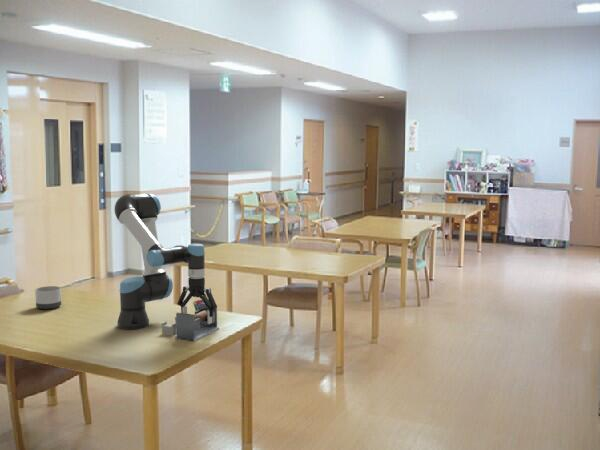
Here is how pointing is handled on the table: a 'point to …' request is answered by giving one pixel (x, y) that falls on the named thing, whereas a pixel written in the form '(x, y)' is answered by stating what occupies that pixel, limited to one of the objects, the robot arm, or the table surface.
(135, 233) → the robot arm
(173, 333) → the rest blocks
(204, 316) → the brown cylinder
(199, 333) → the wall board
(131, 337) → the table surface
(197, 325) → the brackets
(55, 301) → the planter
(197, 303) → the mug
